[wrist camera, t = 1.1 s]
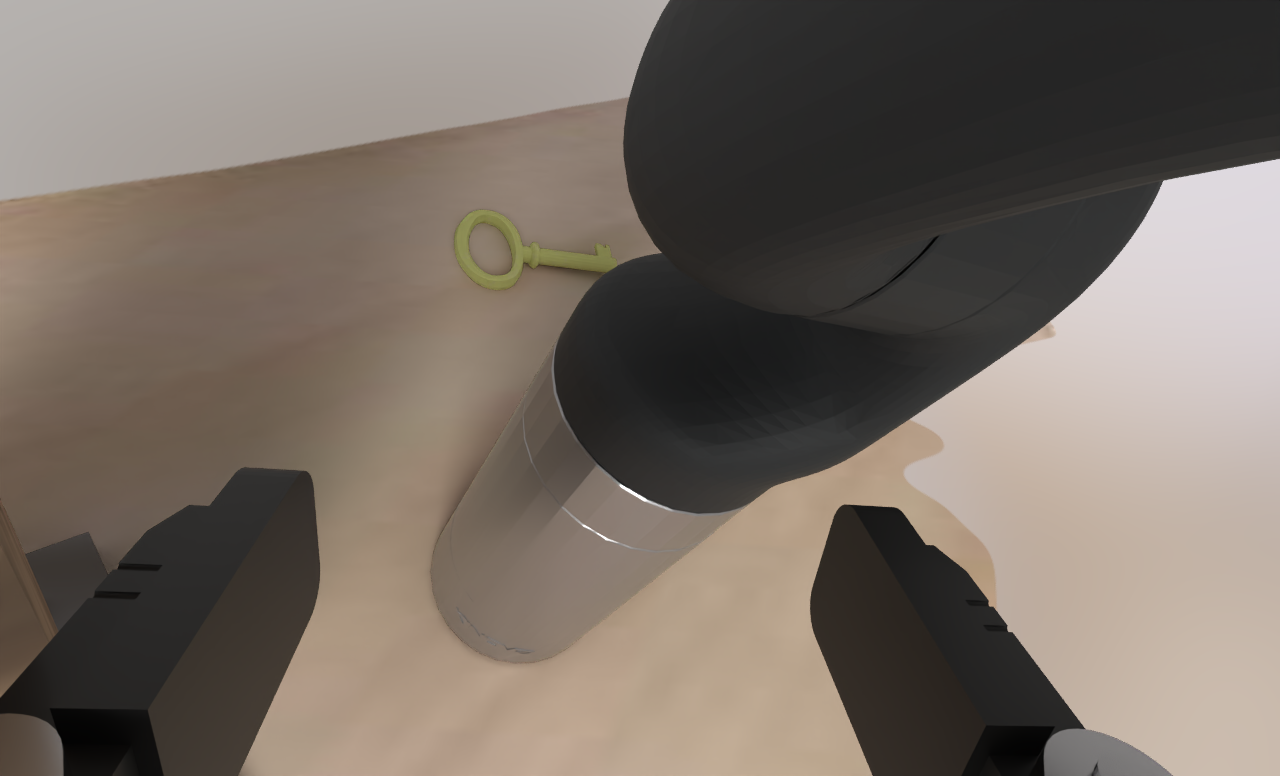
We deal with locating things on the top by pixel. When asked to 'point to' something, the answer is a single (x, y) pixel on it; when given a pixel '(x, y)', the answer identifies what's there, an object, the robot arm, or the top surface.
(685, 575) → the top surface
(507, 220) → the yellow-green flat looped piece
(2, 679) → the post
